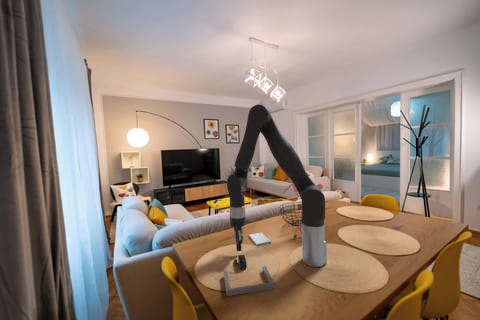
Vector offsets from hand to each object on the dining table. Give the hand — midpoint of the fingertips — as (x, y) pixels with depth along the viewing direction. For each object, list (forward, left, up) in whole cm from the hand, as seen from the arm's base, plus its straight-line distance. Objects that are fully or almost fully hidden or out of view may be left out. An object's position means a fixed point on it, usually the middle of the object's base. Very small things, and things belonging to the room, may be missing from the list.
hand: (238, 250), depth 97 cm
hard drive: (-13, -13, -3) cm, 19 cm away
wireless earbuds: (+1, +8, -3) cm, 9 cm away
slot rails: (0, +20, -2) cm, 20 cm away
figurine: (-40, -17, -3) cm, 44 cm away
